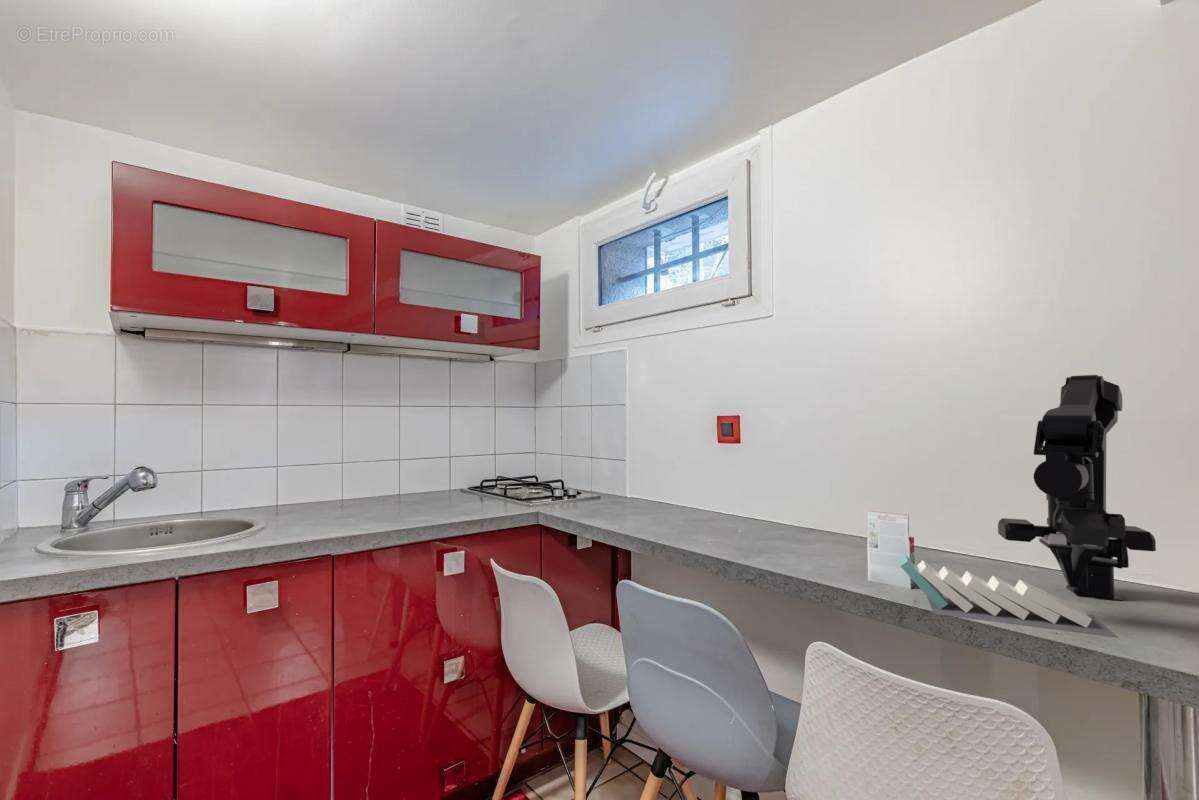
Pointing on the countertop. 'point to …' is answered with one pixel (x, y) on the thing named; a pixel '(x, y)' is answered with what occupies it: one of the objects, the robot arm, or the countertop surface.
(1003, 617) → the runner mat
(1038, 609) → the domino
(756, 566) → the countertop surface
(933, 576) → the domino
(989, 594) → the domino
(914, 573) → the domino
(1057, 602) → the domino
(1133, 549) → the robot arm
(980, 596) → the domino
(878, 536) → the ink box
